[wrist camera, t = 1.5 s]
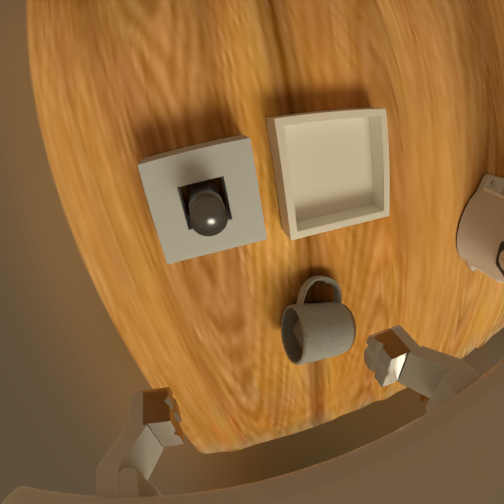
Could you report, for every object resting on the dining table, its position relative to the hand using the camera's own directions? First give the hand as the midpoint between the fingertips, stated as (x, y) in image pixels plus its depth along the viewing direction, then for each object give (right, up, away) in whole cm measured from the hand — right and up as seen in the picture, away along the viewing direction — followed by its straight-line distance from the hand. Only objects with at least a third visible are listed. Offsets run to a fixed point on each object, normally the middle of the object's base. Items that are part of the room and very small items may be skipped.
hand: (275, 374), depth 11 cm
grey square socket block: (-6, +11, +19) cm, 23 cm away
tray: (+8, +14, +21) cm, 26 cm away
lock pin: (-6, +11, +19) cm, 23 cm away
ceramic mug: (+7, -3, +30) cm, 30 cm away
